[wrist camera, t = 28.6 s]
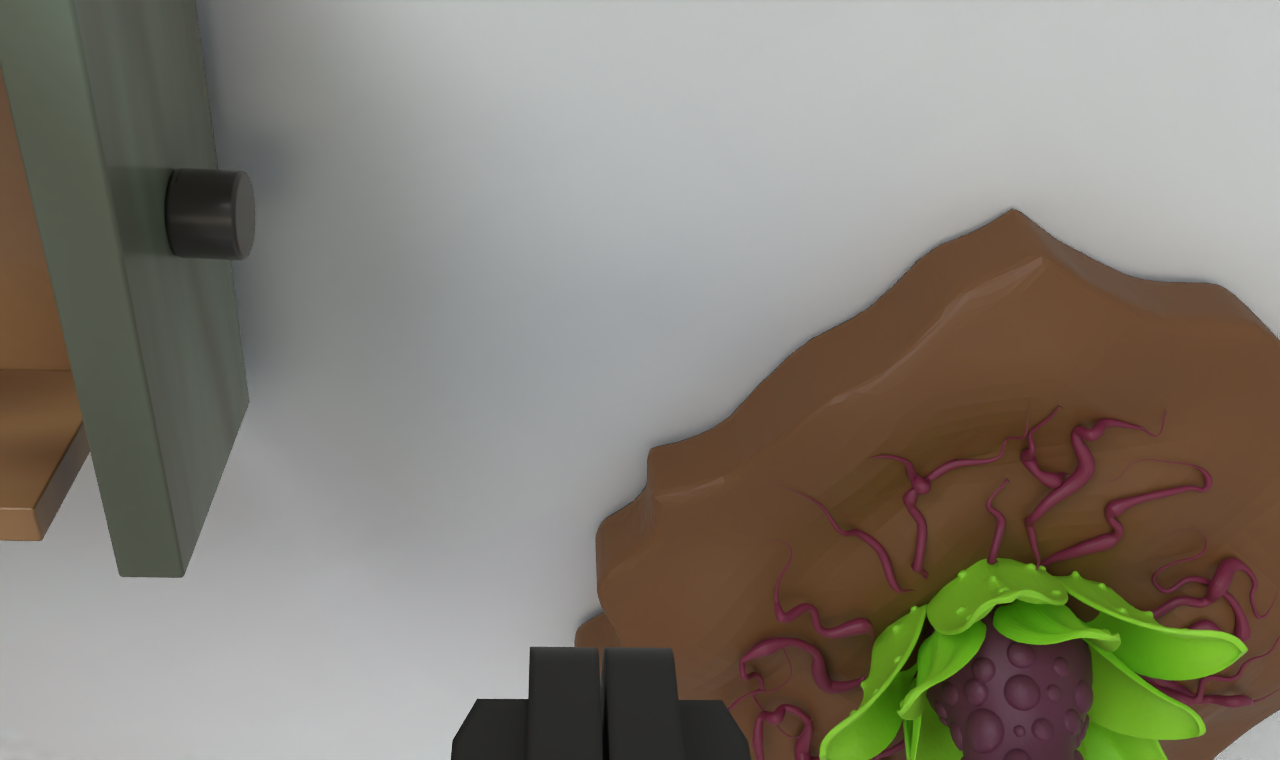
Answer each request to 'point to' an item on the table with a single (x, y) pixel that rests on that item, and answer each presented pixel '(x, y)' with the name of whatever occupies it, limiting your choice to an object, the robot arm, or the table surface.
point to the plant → (978, 523)
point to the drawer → (116, 274)
